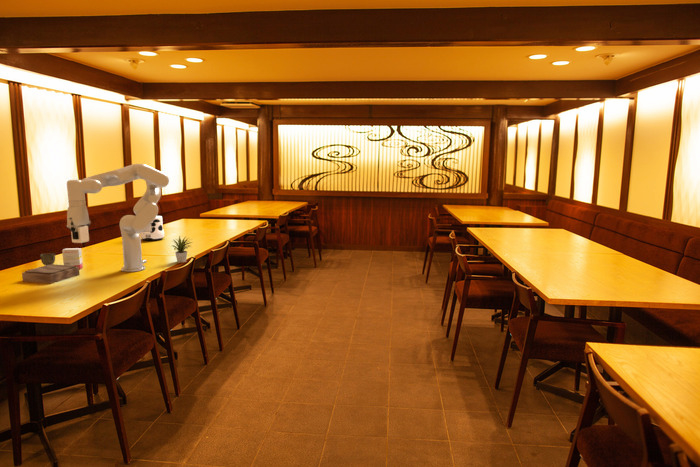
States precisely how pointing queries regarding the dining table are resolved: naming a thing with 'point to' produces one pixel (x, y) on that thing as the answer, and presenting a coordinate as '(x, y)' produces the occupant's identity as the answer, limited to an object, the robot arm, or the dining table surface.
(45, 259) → the cup
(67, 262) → the ink box
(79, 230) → the block
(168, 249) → the dining table surface
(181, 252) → the house plant
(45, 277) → the pedestal
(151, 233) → the milk container
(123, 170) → the robot arm
